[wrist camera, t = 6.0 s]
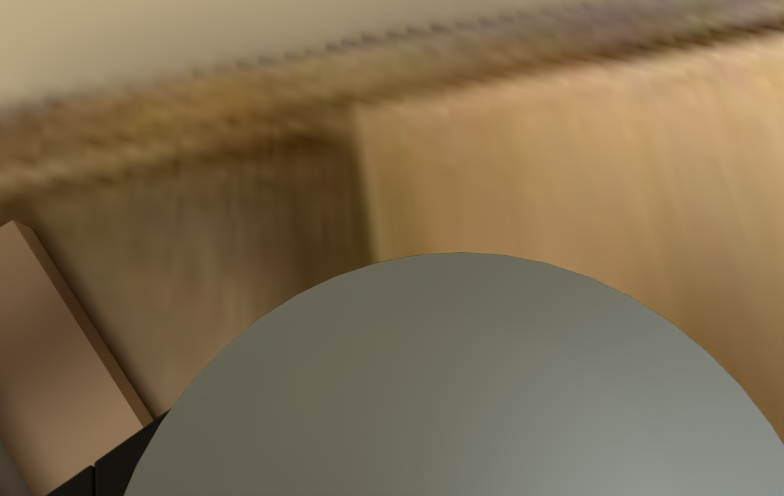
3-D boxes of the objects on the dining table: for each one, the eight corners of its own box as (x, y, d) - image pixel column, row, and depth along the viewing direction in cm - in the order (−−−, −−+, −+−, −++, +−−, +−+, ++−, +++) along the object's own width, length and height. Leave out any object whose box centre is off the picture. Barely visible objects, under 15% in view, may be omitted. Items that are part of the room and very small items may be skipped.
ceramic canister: (540, 464, 15) (1020, 706, 4) (391, 590, 15) (401, 1396, 3) (425, 316, 16) (516, 131, 5) (280, 427, 16) (-50, 542, 4)
